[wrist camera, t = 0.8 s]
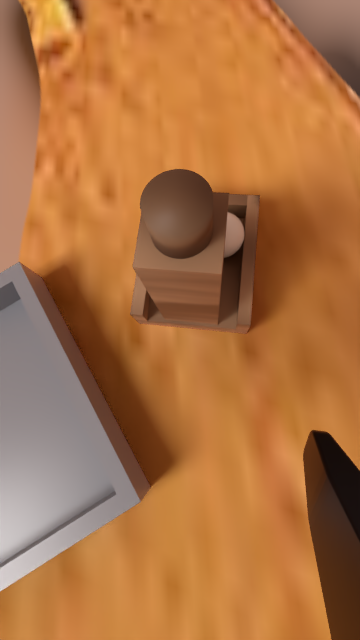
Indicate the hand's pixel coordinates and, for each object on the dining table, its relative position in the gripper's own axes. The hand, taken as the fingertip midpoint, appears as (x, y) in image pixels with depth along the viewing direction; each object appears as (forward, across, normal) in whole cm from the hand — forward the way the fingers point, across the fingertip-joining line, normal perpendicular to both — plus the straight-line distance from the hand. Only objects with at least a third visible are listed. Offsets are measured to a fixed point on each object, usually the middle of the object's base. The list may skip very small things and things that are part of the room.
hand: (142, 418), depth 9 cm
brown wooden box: (+16, 0, +2) cm, 16 cm away
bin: (+7, +13, +12) cm, 18 cm away
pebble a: (+15, -2, 0) cm, 15 cm away
